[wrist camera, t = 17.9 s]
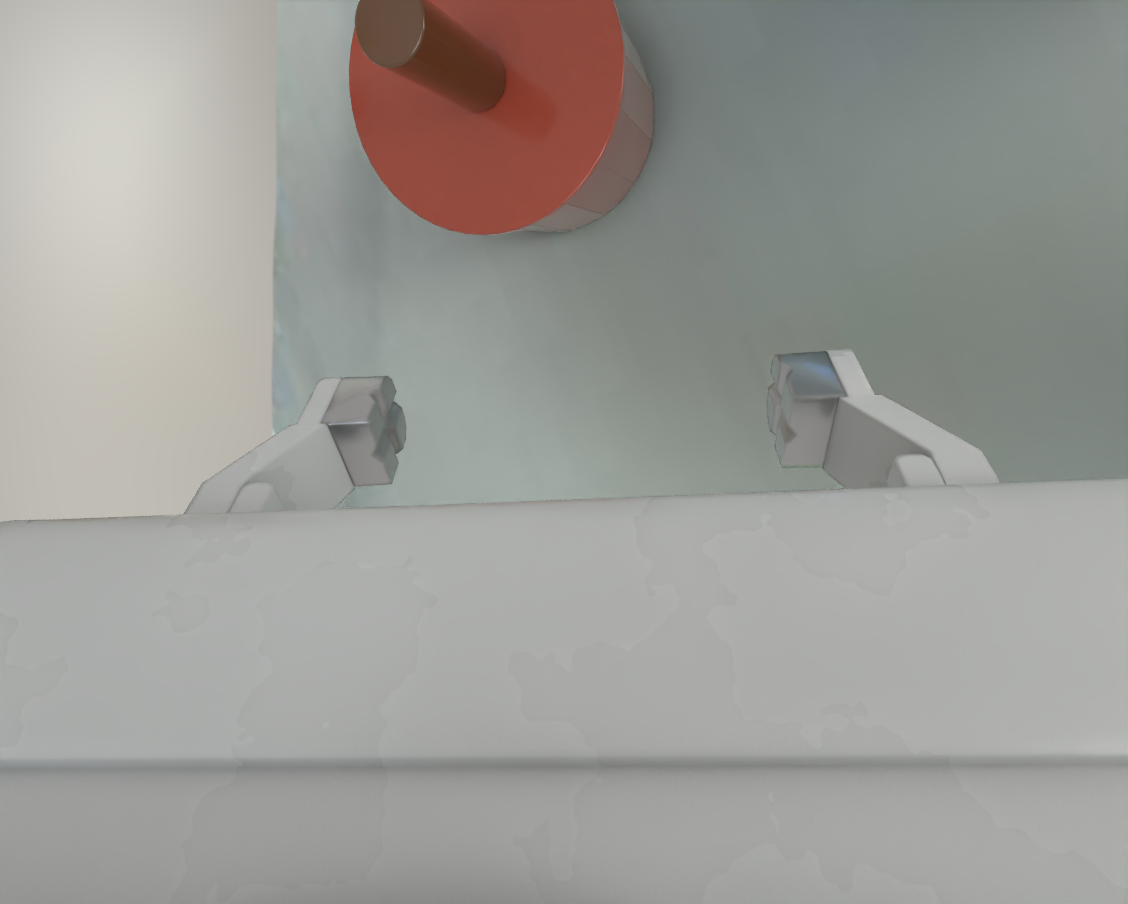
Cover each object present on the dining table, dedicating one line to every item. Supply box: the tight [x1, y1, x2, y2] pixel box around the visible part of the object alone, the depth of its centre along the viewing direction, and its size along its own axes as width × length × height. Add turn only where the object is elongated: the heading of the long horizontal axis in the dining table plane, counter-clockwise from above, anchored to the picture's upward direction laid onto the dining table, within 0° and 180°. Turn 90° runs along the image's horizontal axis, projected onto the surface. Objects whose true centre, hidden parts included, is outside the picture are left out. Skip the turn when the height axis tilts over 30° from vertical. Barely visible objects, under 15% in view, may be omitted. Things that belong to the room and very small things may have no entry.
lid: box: [349, 0, 627, 235], centre depth 26 cm, size 13×13×9 cm
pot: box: [523, 26, 654, 232], centre depth 35 cm, size 12×12×10 cm
